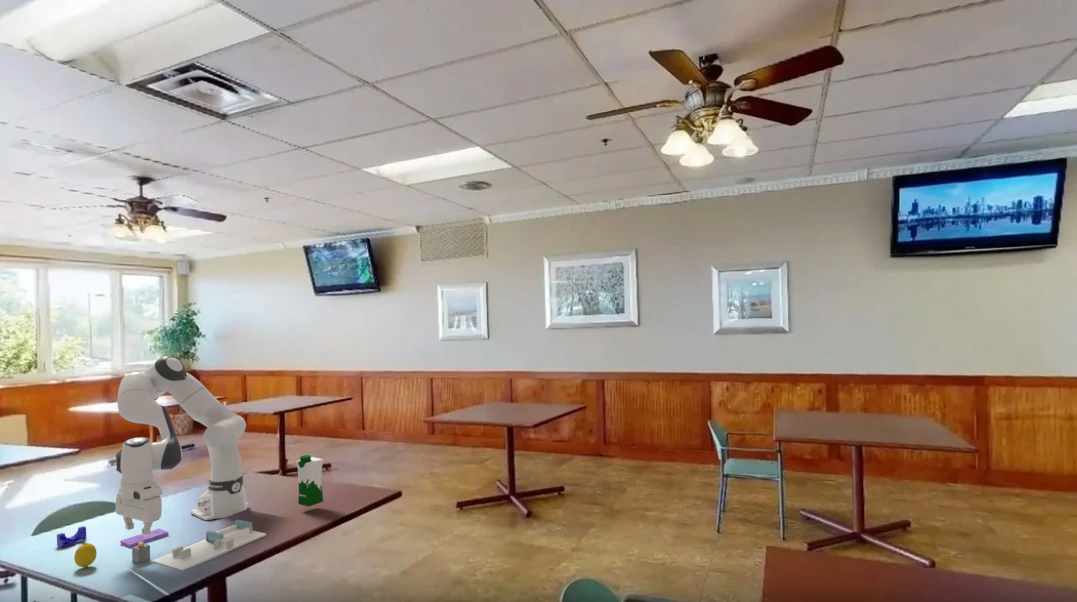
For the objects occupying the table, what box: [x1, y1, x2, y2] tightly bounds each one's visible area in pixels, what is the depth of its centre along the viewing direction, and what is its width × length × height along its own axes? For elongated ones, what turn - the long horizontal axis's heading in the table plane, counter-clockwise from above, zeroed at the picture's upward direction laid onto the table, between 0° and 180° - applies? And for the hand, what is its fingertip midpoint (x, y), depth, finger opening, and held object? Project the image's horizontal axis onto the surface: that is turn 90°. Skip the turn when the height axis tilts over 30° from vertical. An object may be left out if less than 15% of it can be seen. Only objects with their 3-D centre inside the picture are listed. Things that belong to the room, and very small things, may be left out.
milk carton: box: [295, 454, 324, 508], centre depth 236 cm, size 9×9×20 cm
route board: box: [151, 530, 267, 571], centre depth 193 cm, size 16×30×3 cm, turn 154°
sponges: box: [120, 528, 169, 549], centre depth 202 cm, size 7×13×2 cm, turn 147°
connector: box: [131, 542, 151, 565], centre depth 184 cm, size 4×4×6 cm
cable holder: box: [56, 525, 87, 548], centre depth 202 cm, size 8×4×4 cm, turn 155°
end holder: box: [205, 519, 253, 545], centre depth 201 cm, size 8×12×3 cm, turn 154°
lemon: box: [73, 542, 97, 569], centre depth 180 cm, size 6×6×8 cm
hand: (138, 531), depth 184 cm, fingers open, 8 cm apart
